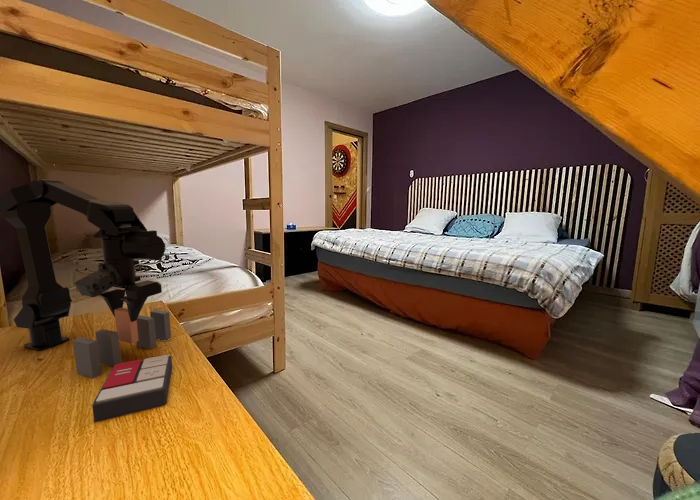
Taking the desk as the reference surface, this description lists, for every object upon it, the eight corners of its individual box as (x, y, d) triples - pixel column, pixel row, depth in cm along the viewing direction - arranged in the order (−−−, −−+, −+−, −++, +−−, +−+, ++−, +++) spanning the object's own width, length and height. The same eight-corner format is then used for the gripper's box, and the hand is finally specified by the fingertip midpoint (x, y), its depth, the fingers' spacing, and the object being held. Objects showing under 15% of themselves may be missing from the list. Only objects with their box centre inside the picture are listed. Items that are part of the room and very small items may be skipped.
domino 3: (117, 340, 74) (114, 309, 72) (124, 337, 75) (120, 307, 74) (132, 343, 72) (129, 312, 71) (138, 340, 74) (135, 310, 72)
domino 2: (99, 363, 70) (95, 331, 69) (106, 360, 72) (102, 328, 70) (114, 367, 69) (110, 335, 67) (121, 363, 70) (118, 332, 69)
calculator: (171, 352, 70) (164, 385, 56) (172, 369, 70) (166, 406, 57) (113, 362, 65) (90, 401, 51) (114, 380, 65) (93, 424, 52)
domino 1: (77, 373, 66) (72, 340, 64) (85, 369, 67) (80, 337, 66) (92, 378, 64) (88, 344, 63) (100, 374, 66) (96, 340, 64)
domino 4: (136, 345, 78) (133, 317, 77) (142, 343, 80) (139, 315, 79) (150, 349, 77) (148, 320, 76) (156, 346, 78) (153, 318, 77)
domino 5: (152, 338, 83) (150, 311, 81) (157, 336, 84) (155, 309, 83) (166, 341, 81) (163, 314, 80) (171, 339, 83) (169, 311, 81)
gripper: (50, 260, 65) (60, 326, 68) (111, 268, 60) (119, 340, 62) (105, 252, 76) (111, 309, 78) (160, 258, 70) (165, 320, 73)
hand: (125, 319), depth 73 cm, fingers closed on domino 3, 5 cm apart
